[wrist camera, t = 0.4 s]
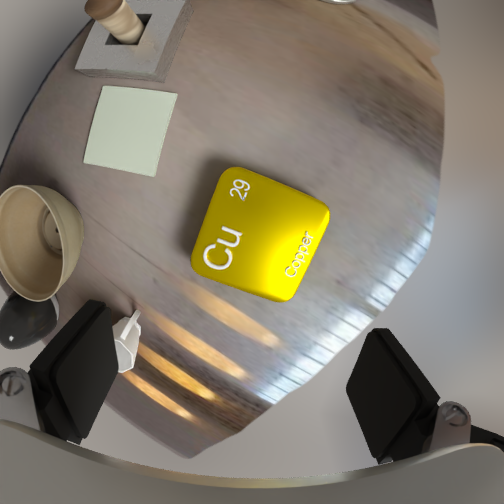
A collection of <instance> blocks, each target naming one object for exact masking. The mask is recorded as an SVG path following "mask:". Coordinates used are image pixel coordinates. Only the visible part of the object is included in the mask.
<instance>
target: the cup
mask: <svg viewBox="0 0 504 504" xmlns="http://www.w3.org/2000/svg"><path fill="white" fill-rule="evenodd" d="M140 313H141V311H139V310H137V309H136V311H135V312H134V314H133V316H132V317H131V318H128V317H124V318H122V319H121V320H119V321H118V323H117V324H115V325H114V326H112V328H113V334H114V341H115V347H116V353H117V358H118V364H119V369H118V372H121V373H123V372H125V371H127V370H129V369H131V368H133V366H134V362H135V357H136V353H137V349H138V342H139V336H140V332H141V326H140V325H139V324H138V323H137V322H136V320H137V318H138V316H139V315H140Z"/></svg>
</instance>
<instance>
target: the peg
mask: <svg viewBox="0 0 504 504" xmlns="http://www.w3.org/2000/svg"><path fill="white" fill-rule="evenodd" d="M85 12H86V13H87V14H89V16H91V17H92V18H93V19H95V20H96V21H98V22H99V23H100V24H101V25H102V26H103V27H104V28H105V29H107V30H108V31H109V32H110V33H111V34H112V35H113V36H114V37H115V38H117V39H118V40H119V41H120V42H121V43H122V44H123V45H138V44H139V42H140V39H141V37H142V35H143V33H144V30H145V28H146V27H145V26H144V25H143V23H142V22H141V21H140V19H139V18H138V17H137V15H136V14H135V13H134V11H133V10H132V9H131V7H130V6H129V5H128V4H127V2H126V1H125V0H88V1H87V2H86V5H85Z"/></svg>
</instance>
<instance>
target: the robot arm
mask: <svg viewBox="0 0 504 504" xmlns="http://www.w3.org/2000/svg"><path fill="white" fill-rule="evenodd" d="M321 1H324V2H328V3H333V4H350V3H353V2H355V1H357V0H321ZM118 369H119V364H118V358H117V353H116V347H115V341H114V334H113V328H112V320H111V312H110V308H109V307H106V304H105V303H104V302H101V301H96V300H89V301H87V302H86V303H85V305H84V306H83V307H82V308H81V309H80V310H79V311H78V312H77V313H76V314H75V315H74V316H73V317H72V318H71V319H70V320H69V321H68V323H67V324H66V325H65V326H64V327H63V328H62V329H61V330H60V331H59V332H58V333H57V335H56V336H55V337H54V338H53V339H52V340H51V341H50V342H49V344H48V345H47V346H46V347H45V348H44V349H43V351H42V352H41V353H40V354H39V355H38V356H37V358H36V359H35V360H34V361H33V362H32V364H31V365H30V370H29V372H28V373H27V372H26V371H25V370H23V369H21V368H17V367H9V368H6V369H3V370H2V371H0V504H504V437H502V436H500V435H498V434H496V433H493V432H490V431H487V430H484V429H482V428H479V427H476V426H473V425H471V416H470V414H469V412H468V410H467V409H466V408H465V407H464V406H462V405H461V404H459V403H457V402H453V401H446V402H444V403H442V404H441V405H440V406H438V405H437V402H438V401H439V399H440V397H439V395H438V394H437V392H436V391H435V389H434V388H433V387H432V385H431V384H430V383H429V381H428V380H427V378H426V377H425V376H424V374H423V373H422V372H421V370H420V369H419V368H418V366H417V365H416V364H415V362H414V361H413V360H412V358H411V357H410V356H409V354H408V353H407V352H406V350H405V349H404V348H403V347H402V345H401V344H400V343H399V341H398V340H397V339H396V338H395V336H394V335H393V334H392V332H391V331H390V330H389V329H387V328H374V329H373V330H372V331H371V332H369V333H368V334H367V336H366V339H365V342H364V344H363V347H362V349H361V352H360V354H359V357H358V360H357V362H356V364H355V367H354V369H353V371H352V374H351V376H350V378H349V380H348V383H347V386H346V392H347V395H348V397H349V400H350V402H351V405H352V407H353V410H354V412H355V414H356V417H357V419H358V422H359V424H360V427H361V429H362V432H363V434H364V437H365V439H366V442H367V445H368V447H369V450H370V452H371V455H372V456H373V457H374V458H376V459H377V462H378V464H383V463H387V462H391V461H392V460H393V462H391V463H388V464H383V465H379V466H374V467H370V468H365V469H360V470H354V471H348V472H342V473H335V474H328V475H320V476H310V477H297V478H276V479H249V478H247V479H246V478H227V477H213V476H203V475H196V474H188V473H181V472H174V471H169V470H163V469H158V468H153V467H149V466H144V465H140V464H136V463H132V462H128V461H124V460H121V459H117V458H114V457H110V456H107V455H104V454H101V453H97V452H94V451H91V450H88V449H85V448H82V447H80V446H77V445H74V444H72V443H69V442H67V440H68V441H71V442H74V443H76V444H78V445H80V443H81V440H82V438H84V439H85V438H86V437H87V436H88V434H89V431H90V430H91V428H92V425H93V423H94V421H95V419H96V417H97V414H98V412H99V410H100V408H101V406H102V404H103V402H104V400H105V398H106V396H107V393H108V391H109V389H110V387H111V385H112V383H113V381H114V379H115V377H116V375H117V373H118Z"/></svg>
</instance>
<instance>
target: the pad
mask: <svg viewBox="0 0 504 504" xmlns="http://www.w3.org/2000/svg"><path fill="white" fill-rule="evenodd" d="M176 98H177V94H175V93H169V92H162V91H155V90H147V89H138V88H128V87H116V86H103V89H102V92H101V95H100V98H99V101H98V105H97V108H96V112H95V115H94V119H93V122H92V126H91V130H90V134H89V138H88V143H87V147H86V152H85V157H84V162H83V163H88V164H93V165H99V166H104V167H109V168H114V169H119V170H124V171H129V172H133V173H138V174H143V175H147V176H152V177H155V174H156V170H157V165H158V161H159V157H160V153H161V150H162V146H163V142H164V138H165V135H166V131H167V128H168V124H169V121H170V117H171V114H172V111H173V108H174V104H175V101H176Z"/></svg>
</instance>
